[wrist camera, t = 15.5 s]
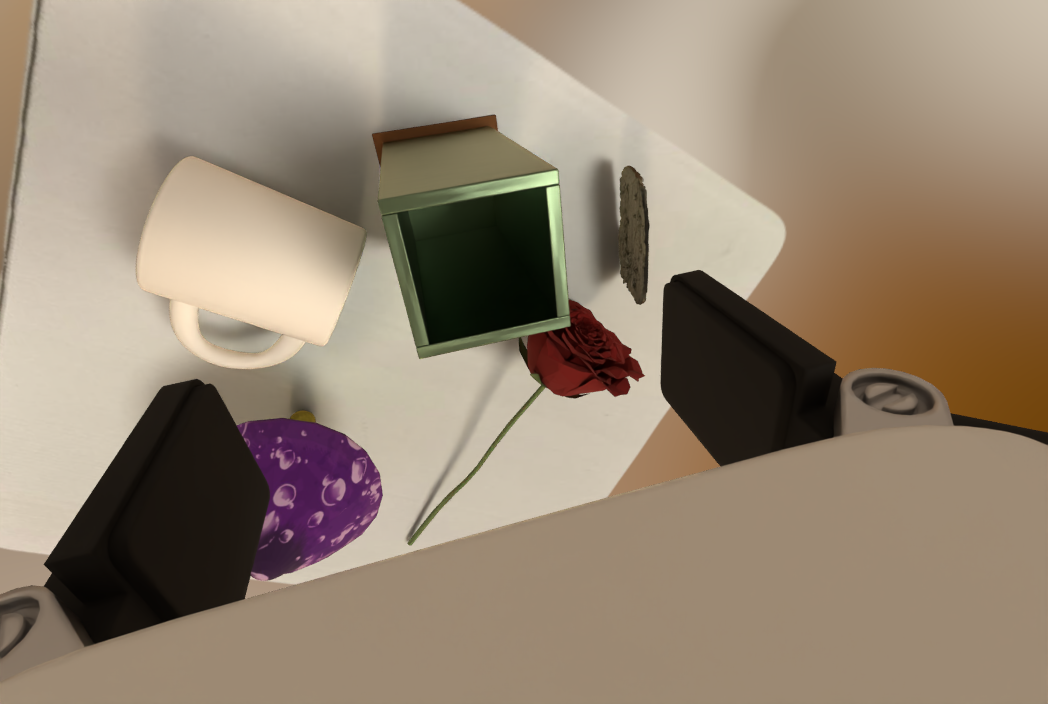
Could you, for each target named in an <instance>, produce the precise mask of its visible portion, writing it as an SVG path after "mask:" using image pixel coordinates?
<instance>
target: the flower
mask: <svg viewBox="0 0 1048 704" xmlns="http://www.w3.org/2000/svg"><path fill="white" fill-rule="evenodd" d="M569 311H570V314H569V315H570V323H571V326H570V327H565V328H560V329H556V330H551V331H547V332H542V333H537V334H533V335H529V336H528V342H527V349H526V347H525V345H524V343H523V341H522V339H521V337H520V338H519V351H520V353H521V355H522V357H523V359H524V361H525V363H526V365H527V367H528V369H529V371H530V373H531V374H530V375H531V376H532V377H533V378H534V379H535V380H536V381H537V382H538V383H540V384H541V386H540V387H539V388H538V389H537V391H536V392H535V393H534V394H533V395H532V396H531V398H530V399H529V400H528V401H527V402H526V403H525V404H524V406H523V407H522V408H521V409H520V410H519V411H518V412H517V414H516V415H515V416H514V417H513V418H512V419H511V421H510V422H509V423H508V424H507V425H506V427H505V428H504V429H503V431H502V432H501V433H500V434H499V436H498V437H497V438H496V440H495V441H494V442H493V444H492V445H491V446H490V448H489V449H488V451H487V452H486V453H485V455H484V456H483V458H482V459H481V461H480V462H479V463H478V465H477V466H476V467H475V468H474V469H473V471H472V472H471V473H470V474H469V475H468V476H467V477H466V478H465V479H464V480H463V481H462V482H461V483H460V484H459V485H458V486H457V487H456V488H455V489H453V490H452V491H451V492H450V493H449V494H448V495H447V496H446V497H445V498H444V499H443V501H442V502H441V503H440V504H439V505H438V506H437V507H436V508H435V509H434V510H433V511H432V512H431V514H430V515H429V516H428V517H427V519H426V520H425V521H424V523H423V524H422V525H421V526H420V528H419V529H418V530H417V531H416V533H415V534H414V535H413V536H412V538H411V539H410V540H409V542H408V543H407V544H408V545H412V544H413V543H414V541H415V540H416V539H417V538H418V536H419V535H420V534H421V533H422V531H423V530H424V529H425V528H426V526H427V525H428V524H429V523H430V522H431V520H432V519H433V518H434V517H435V515H436V514H437V513H438V512H439V510H440V509H441V508H442V507H443V506H444V505H445V504H446V503H447V502H448V501H449V500H450V499H451V498H452V497H453V496H454V495H455V494H456V493H457V492H458V491H459V490H460V489H461V488H462V487H463V486H464V485H465V484H466V483H467V482H468V481H469V480H470V479H471V478H472V477H473V476H474V475H475V473H476V472H477V471H478V470H479V469H480V467H481V466H482V465H483V463H484V462H485V461H486V459H487V458H488V456H489V455H490V454H491V452H492V451H493V450H494V448H495V447H496V445H497V444H498V443H499V442H500V440H501V439H502V438H503V437H504V435H505V434H506V433H507V432H508V430H509V429H510V428H511V427H512V425H513V424H514V423H515V422H516V421H517V419H518V418H519V417H520V416H521V415H522V414H523V413H524V411H525V410H526V409H527V408H528V407H529V406H530V405H531V403H532V402H533V401H534V400H535V399H536V398H537V397H538V395H539V394H540V393H541V392H542V391H543V390H544V389H545V388H548V389H550V390H551V391H552V392H553V393H554V394H557V395H560V396H562V397H563V396H565V397H568V398H578V397H581V396H584V395H587V394H584V395H579V394H583V393H589V392H596V391H603V390H605V389H607V390H608V391H609V392H610V393H611V394H612V395H613V396H615V397H616V396H619V395H625V394H628V391H629V389H630V384H629V382H628V379H627V378H625V377H628V376H630V377H632V378H633V379H635V380H636V381H639V378H641V377H644V376H645V375H644V374H642V370H641V368H640V365H639V363H638V361H637V360H635V359H633V358H632V357H630V356H629V354H631V348H629V347H627V346H625V345H623V344H622V343H621V342H620V340H619V339H618V338H617V336H616V335H615V334H614V333H613V332H611V331H609V330H607V329H605V328H604V326H603V325H602V323H600V322H599V321H597V320H596V319H595V317H594V316H593V314H592V312H591V311H590V310H588V309H586V308H584V307H583V306H581V305H580V304H579V303H578V302H575V301H572V300H569ZM589 394H590V393H589Z"/></svg>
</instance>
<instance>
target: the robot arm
mask: <svg viewBox="0 0 1048 704" xmlns="http://www.w3.org/2000/svg"><path fill="white" fill-rule="evenodd" d="M835 366H836V361H834V360H833V359H832V358H830V357H829V356H827V355H826V354H824V353H823V352H821V351H820V350H818V349H817V348H815V347H814V346H812V345H811V344H809V343H808V342H806V341H805V340H804V339H802V338H801V337H799V336H798V335H796V334H795V333H793V332H792V331H790V330H789V329H787V328H786V327H784V326H783V325H781V324H780V323H778V322H777V321H775V320H774V319H772V318H771V317H769V316H768V315H767V314H765V313H764V312H762V311H761V310H759V309H758V308H756V307H755V306H753V305H752V304H750V303H749V302H747V301H746V300H744V299H743V298H742V297H740V296H739V295H737V294H736V293H734V292H733V291H731V290H730V289H728V288H727V287H725V286H724V285H722V284H721V283H719V282H718V281H716V280H715V279H713V278H712V277H710V276H709V275H708V274H706V273H705V272H703V271H701V270H696V271H692V272H687V273H682V274H678V275H674V276H673V277H672V278H671V281H670V283H667V284H666V285H665V287H664V293H663V324H662V355H661V390H662V393H663V396H664V398H665V399H666V401H667V402H668V403H669V404H670V405H671V407H672V408H673V409H674V410H675V412H676V413H677V414H678V415H679V416H680V418H681V419H682V420H683V421H684V422H685V424H686V425H687V426H688V427H689V429H690V430H691V431H692V432H693V433H694V435H695V436H696V437H697V438H698V440H699V441H700V442H701V443H702V444H703V446H704V447H705V448H706V449H707V450H708V452H709V453H710V454H711V455H712V457H713V458H714V459H715V460H716V461H717V463H718V464H719V465H720V466H721V467H717V468H714V469H710V470H706V471H703V472H699V473H696V474H692V475H689V476H684V477H681V478H677V479H674V480H670V481H666V482H663V483H659V484H655V485H651V486H648V487H644V488H640V489H637V490H633V491H630V492H626V493H622V494H619V495H615V496H611V497H608V498H604V499H600V500H597V501H593V502H589V503H586V504H582V505H579V506H575V507H571V508H568V509H564V510H560V511H557V512H553V513H550V514H546V515H542V516H539V517H535V518H532V519H528V520H524V521H521V522H517V523H514V524H510V525H506V526H503V527H499V528H496V529H492V530H488V531H485V532H481V533H478V534H474V535H471V536H467V537H463V538H460V539H456V540H453V541H449V542H445V543H442V544H438V545H435V546H431V547H428V548H424V549H420V550H417V551H413V552H410V553H406V554H403V555H399V556H396V557H392V558H388V559H385V560H381V561H378V562H374V563H371V564H367V565H364V566H360V567H357V568H353V569H350V570H346V571H343V572H339V573H335V574H332V575H328V576H325V577H321V578H318V579H314V580H311V581H307V582H304V583H300V584H297V585H293V586H290V587H286V588H283V589H279V590H276V591H272V592H268V593H265V594H262V595H258V596H255V597H251V598H248V599H245V595H246V591H247V587H248V583H249V580H250V576H251V572H252V568H253V564H254V560H255V556H256V552H257V548H258V544H259V540H260V536H261V532H262V528H263V524H264V520H265V516H266V512H267V508H268V504H269V500H270V490H269V485H268V483H267V480H266V479H265V477H264V475H263V473H262V471H261V469H260V468H259V466H258V464H257V462H256V460H255V458H254V457H253V455H252V453H251V451H250V449H249V447H248V446H247V444H246V442H245V440H244V438H243V436H242V435H241V433H240V431H239V429H238V427H237V425H236V424H235V422H234V420H233V418H232V416H231V414H230V413H229V411H228V409H227V407H226V405H225V404H224V402H223V400H222V398H221V396H220V394H219V393H218V391H217V389H216V388H215V387H214V386H213V385H212V384H206V385H205V384H204V383H203V382H202V381H201V380H198V379H194V380H190V381H185V382H180V383H176V384H171V385H167V386H163V387H162V388H161V389H160V390H159V392H158V393H157V395H156V396H155V398H154V399H153V401H152V402H151V404H150V405H149V407H148V408H147V410H146V411H145V413H144V414H143V416H142V417H141V419H140V420H139V422H138V423H137V425H136V426H135V428H134V429H133V431H132V432H131V434H130V435H129V437H128V438H127V440H126V441H125V443H124V444H123V446H122V447H121V449H120V450H119V452H118V453H117V455H116V456H115V458H114V459H113V461H112V462H111V464H110V465H109V467H108V469H107V470H106V472H105V473H104V475H103V476H102V478H101V479H100V481H99V482H98V484H97V485H96V487H95V488H94V490H93V491H92V493H91V494H90V496H89V497H88V499H87V500H86V502H85V503H84V505H83V506H82V508H81V509H80V511H79V512H78V514H77V515H76V517H75V518H74V520H73V521H72V523H71V524H70V526H69V527H68V529H67V530H66V532H65V533H64V535H63V536H62V538H61V539H60V541H59V542H58V544H57V545H56V547H55V548H54V550H53V551H52V553H51V554H50V556H49V557H48V559H47V560H46V562H45V563H44V565H45V566H46V567H47V568H48V569H49V570H50V571H51V572H52V574H51V576H50V577H49V579H48V580H47V582H46V584H45V585H44V587H43V586H32V585H31V586H27V587H21V588H16V589H14V590H11V591H8V592H6V593H3V594H1V595H0V704H1048V433H1047V432H1042V431H1036V430H1032V429H1027V428H1021V427H1017V426H1011V425H1007V424H1002V423H997V422H992V421H987V420H982V419H977V418H971V417H967V416H961V415H957V414H951V413H950V411H949V407H948V404H947V401H946V399H945V397H944V396H943V394H942V393H941V392H940V391H939V390H938V389H937V388H936V387H934V386H933V385H932V384H930V383H928V382H926V381H924V380H923V379H920V378H919V377H916V376H913V375H910V374H907V373H905V372H900V371H895V370H891V369H880V368H869V369H859V370H856V371H854V372H850V373H849V374H847V375H846V376H845V377H844V378H843V379H842V378H841V377H839V376H838V375H837V374H835V373H834V370H835Z"/></svg>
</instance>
